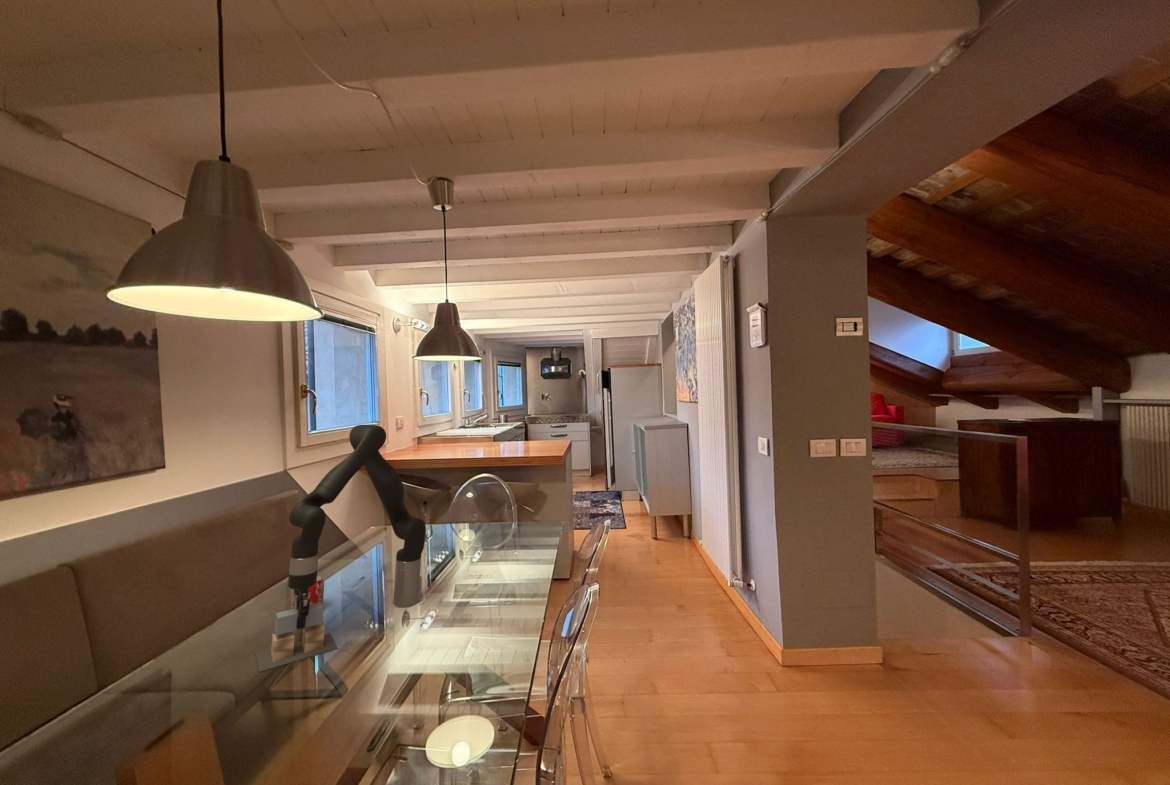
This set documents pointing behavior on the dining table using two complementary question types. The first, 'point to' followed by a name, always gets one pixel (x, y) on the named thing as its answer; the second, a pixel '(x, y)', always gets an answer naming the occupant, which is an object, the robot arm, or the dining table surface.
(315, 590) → the soda can
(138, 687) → the dining table surface
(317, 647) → the pillar
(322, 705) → the dining table surface
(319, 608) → the lintel
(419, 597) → the robot arm
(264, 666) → the mat
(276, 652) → the pillar
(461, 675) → the dining table surface
